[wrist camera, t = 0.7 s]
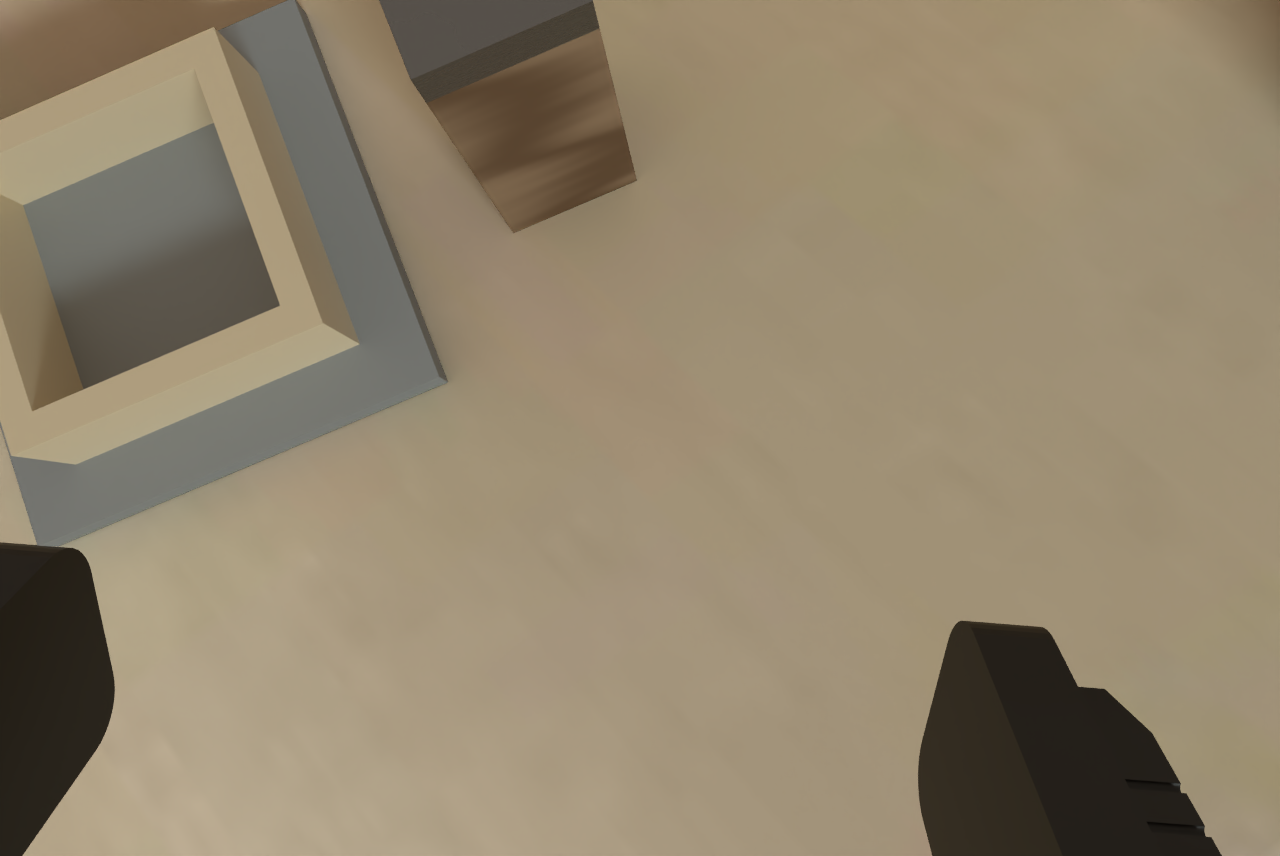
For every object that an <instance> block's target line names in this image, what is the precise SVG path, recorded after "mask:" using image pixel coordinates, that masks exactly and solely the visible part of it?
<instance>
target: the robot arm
mask: <svg viewBox="0 0 1280 856" xmlns="http://www.w3.org/2000/svg"><path fill="white" fill-rule="evenodd" d="M114 692H115V686H114V676H113V671H112V666H111V661H110V657H109V652H108V647H107V643H106V638H105V634H104V629H103V624H102V620H101V615H100V610H99V606H98V601H97V596H96V592H95V587H94V582H93V578H92V573H91V569H90V566H89V563H88V561H87V559H86V558H85V556H84V555H83V554H82V553H81V552H80V551H79V550H76V549H74V548H64V547H51V546H39V545H26V544H13V543H1V542H0V856H22V855H23V854H24V852H25V851H26V850H27V848H28V847H29V845H30V844H31V842H32V841H33V840H34V838H35V837H36V835H37V834H38V832H39V831H40V830H41V828H42V827H43V825H44V824H45V822H46V821H47V820H48V818H49V817H50V815H51V814H52V812H53V811H54V810H55V808H56V807H57V805H58V804H59V802H60V801H61V800H62V798H63V797H64V795H65V794H66V792H67V791H68V789H69V788H70V787H71V785H72V784H73V782H74V781H75V779H76V778H77V777H78V775H79V774H80V772H81V771H82V769H83V768H84V767H85V765H86V764H87V762H88V761H89V759H90V758H91V757H92V755H93V754H94V752H95V751H96V749H97V748H98V746H99V744H100V743H101V741H102V739H103V737H104V735H105V732H106V730H107V727H108V724H109V721H110V718H111V713H112V709H113V703H114ZM1180 784H1181V783H1180V782H1179V780H1178V778H1177V776H1176V774H1175V773H1174V771H1173V769H1172V767H1171V766H1170V764H1169V762H1168V760H1167V759H1166V757H1165V755H1164V753H1163V752H1162V750H1161V748H1160V746H1159V745H1158V743H1157V741H1156V739H1155V738H1154V736H1153V734H1152V733H1151V732H1150V731H1149V730H1148V729H1147V728H1146V727H1145V726H1144V725H1143V724H1142V723H1141V722H1139V721H1138V720H1137V719H1136V718H1135V717H1134V716H1133V715H1132V714H1131V713H1130V712H1129V711H1128V710H1127V709H1126V708H1124V707H1123V706H1122V705H1121V704H1120V703H1119V702H1118V701H1117V700H1116V699H1115V698H1114V697H1113V696H1112V695H1110V694H1109V693H1108V692H1107V691H1106V690H1105V689H1098V688H1085V687H1078V686H1077V684H1076V682H1075V680H1074V678H1073V676H1072V674H1071V672H1070V670H1069V668H1068V666H1067V664H1066V662H1065V660H1064V658H1063V656H1062V654H1061V652H1060V650H1059V648H1058V646H1057V644H1056V642H1055V640H1054V639H1053V637H1052V635H1051V634H1050V633H1049V632H1048V631H1047V630H1046V629H1045V628H1043V627H1034V626H1021V625H1009V624H996V623H983V622H971V621H960V622H958V623H957V624H956V625H955V626H954V628H953V629H952V632H951V634H950V637H949V640H948V644H947V647H946V651H945V655H944V659H943V663H942V667H941V670H940V674H939V678H938V682H937V686H936V690H935V693H934V697H933V701H932V705H931V709H930V713H929V717H928V720H927V724H926V728H925V732H924V736H923V740H922V744H921V749H920V756H919V767H918V788H919V800H920V807H921V813H922V817H923V821H924V825H925V829H926V833H927V837H928V840H929V844H930V848H931V852H932V856H1222V855H1221V854H1220V852H1219V850H1218V848H1217V847H1216V845H1215V843H1214V841H1213V840H1212V838H1211V837H1206V836H1205V833H1204V827H1205V826H1204V824H1203V822H1202V820H1201V818H1200V817H1199V815H1198V813H1197V811H1196V810H1195V808H1194V806H1193V804H1192V803H1191V801H1190V799H1189V797H1188V796H1187V794H1185V793H1181V791H1180Z"/></svg>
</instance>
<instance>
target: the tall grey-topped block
mask: <svg viewBox="0 0 1280 856" xmlns="http://www.w3.org/2000/svg"><path fill="white" fill-rule="evenodd" d="M379 1H380V3H381V6H382V8H383V11H384V13H385V16H386V18H387V21H388V24H389V26H390V29H391V31H392V34H393V36H394V39H395V41H396V44H397V46H398V49H399V51H400V54H401V56H402V59H403V61H404V64H405V66H406V69H407V71H408V74H409V76H410V79H411V81H412V82H413V84H414V85H415V87H416V88H417V90H418V91H419V93H420V94H421V96H422V97H423V99H424V100H425V102H426V103H427V105H428V106H429V107H430V109H431V110H432V112H433V113H434V115H435V116H436V118H437V119H438V121H439V122H440V124H441V125H442V127H443V128H444V130H445V131H446V133H447V134H448V136H449V137H450V139H451V140H452V142H453V143H454V145H455V146H456V148H457V149H458V151H459V152H460V154H461V155H462V157H463V158H464V160H465V161H466V163H467V164H468V166H469V167H470V169H471V170H472V172H473V173H474V175H475V176H476V178H477V179H478V181H479V182H480V184H481V185H482V187H483V188H484V190H485V191H486V193H487V194H488V196H489V197H490V199H491V200H492V202H493V203H494V205H495V206H496V208H497V209H498V211H499V212H500V214H501V215H502V216H503V218H504V219H505V221H506V222H507V224H508V225H509V227H510V228H511V230H512V231H513V233H515V232H517V231H519V230H522V229H524V228H526V227H529V226H531V225H534V224H536V223H538V222H541V221H543V220H545V219H548V218H550V217H552V216H555V215H557V214H559V213H562V212H564V211H566V210H569V209H571V208H573V207H576V206H578V205H580V204H583V203H585V202H588V201H590V200H592V199H595V198H597V197H599V196H602V195H604V194H606V193H609V192H611V191H613V190H616V189H618V188H620V187H623V186H625V185H627V184H630V183H632V182H634V181H637V180H636V175H635V171H634V167H633V163H632V159H631V155H630V151H629V147H628V143H627V139H626V135H625V130H624V126H623V122H622V118H621V114H620V110H619V106H618V102H617V98H616V94H615V90H614V85H613V81H612V77H611V73H610V69H609V65H608V61H607V57H606V53H605V49H604V44H603V40H602V36H601V32H600V28H599V24H598V20H597V16H596V12H595V8H594V4H593V0H379Z"/></svg>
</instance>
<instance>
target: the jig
mask: <svg viewBox="0 0 1280 856" xmlns="http://www.w3.org/2000/svg"><path fill="white" fill-rule="evenodd" d="M447 382H448V381H447V379H446V376H445V373H444V371H443V368H442V366H441V363H440V360H439V358H438V355H437V353H436V350H435V347H434V345H433V342H432V340H431V337H430V334H429V332H428V329H427V327H426V324H425V321H424V319H423V316H422V314H421V311H420V308H419V306H418V303H417V301H416V298H415V295H414V293H413V290H412V288H411V285H410V282H409V280H408V277H407V275H406V272H405V269H404V267H403V264H402V262H401V259H400V256H399V254H398V251H397V249H396V246H395V243H394V241H393V238H392V236H391V233H390V230H389V228H388V225H387V223H386V220H385V217H384V215H383V212H382V210H381V207H380V204H379V202H378V199H377V197H376V194H375V191H374V189H373V186H372V184H371V181H370V178H369V176H368V173H367V171H366V168H365V165H364V163H363V160H362V158H361V155H360V152H359V150H358V147H357V145H356V142H355V139H354V137H353V134H352V132H351V129H350V126H349V124H348V121H347V119H346V116H345V113H344V111H343V108H342V106H341V103H340V100H339V98H338V95H337V93H336V90H335V87H334V85H333V82H332V80H331V77H330V75H329V72H328V69H327V67H326V64H325V62H324V59H323V56H322V54H321V51H320V49H319V46H318V43H317V41H316V38H315V36H314V33H313V30H312V28H311V25H310V23H309V20H308V17H307V15H306V13H305V11H304V10H303V9H302V8H301V6H300V5H299V4H298V2H297V1H296V0H287V1H285V2H283V3H280V4H278V5H276V6H273V7H271V8H269V9H267V10H264V11H262V12H260V13H257V14H255V15H253V16H251V17H248V18H246V19H244V20H241V21H239V22H237V23H235V24H232V25H230V26H228V27H225V28H223V29H221V30H219V31H217V30H216V29H215V28H214V27H212V28H210V29H208V30H205V31H203V32H201V33H198V34H196V35H194V36H192V37H189V38H187V39H185V40H182V41H180V42H178V43H176V44H173V45H171V46H169V47H166V48H164V49H162V50H160V51H157V52H155V53H153V54H150V55H148V56H146V57H144V58H141V59H139V60H137V61H134V62H132V63H130V64H127V65H125V66H123V67H121V68H118V69H116V70H114V71H111V72H109V73H107V74H105V75H102V76H100V77H98V78H95V79H93V80H91V81H89V82H86V83H84V84H82V85H79V86H77V87H75V88H73V89H70V90H68V91H66V92H63V93H61V94H59V95H57V96H54V97H52V98H50V99H47V100H45V101H43V102H41V103H38V104H36V105H34V106H31V107H29V108H27V109H25V110H22V111H20V112H18V113H15V114H13V115H11V116H9V117H6V118H4V119H2V120H0V427H1V430H2V433H3V436H4V439H5V443H6V446H7V449H8V452H9V455H10V459H11V462H12V465H13V468H14V471H15V475H16V478H17V481H18V484H19V487H20V491H21V494H22V497H23V500H24V503H25V507H26V510H27V513H28V516H29V519H30V523H31V526H32V529H33V532H34V535H35V539H36V542H37V545H39V546H60V545H63V544H65V543H68V542H70V541H72V540H75V539H77V538H79V537H82V536H84V535H87V534H89V533H91V532H94V531H96V530H98V529H101V528H103V527H106V526H108V525H110V524H113V523H115V522H117V521H120V520H122V519H124V518H127V517H129V516H132V515H134V514H136V513H139V512H141V511H143V510H146V509H148V508H151V507H153V506H155V505H158V504H160V503H162V502H165V501H167V500H170V499H172V498H174V497H177V496H179V495H181V494H184V493H186V492H189V491H191V490H193V489H196V488H198V487H200V486H203V485H205V484H208V483H210V482H212V481H215V480H217V479H219V478H222V477H224V476H226V475H229V474H231V473H234V472H236V471H238V470H241V469H243V468H245V467H248V466H250V465H253V464H255V463H257V462H260V461H262V460H264V459H267V458H269V457H272V456H274V455H276V454H279V453H281V452H283V451H286V450H288V449H291V448H293V447H295V446H298V445H300V444H302V443H305V442H307V441H310V440H312V439H314V438H317V437H319V436H321V435H324V434H326V433H328V432H331V431H333V430H336V429H338V428H340V427H343V426H345V425H347V424H350V423H352V422H355V421H357V420H359V419H362V418H364V417H366V416H369V415H371V414H374V413H376V412H378V411H381V410H383V409H385V408H388V407H390V406H393V405H395V404H397V403H400V402H402V401H404V400H407V399H409V398H412V397H414V396H416V395H419V394H421V393H423V392H426V391H428V390H430V389H433V388H435V387H438V386H440V385H442V384H445V383H447Z"/></svg>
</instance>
